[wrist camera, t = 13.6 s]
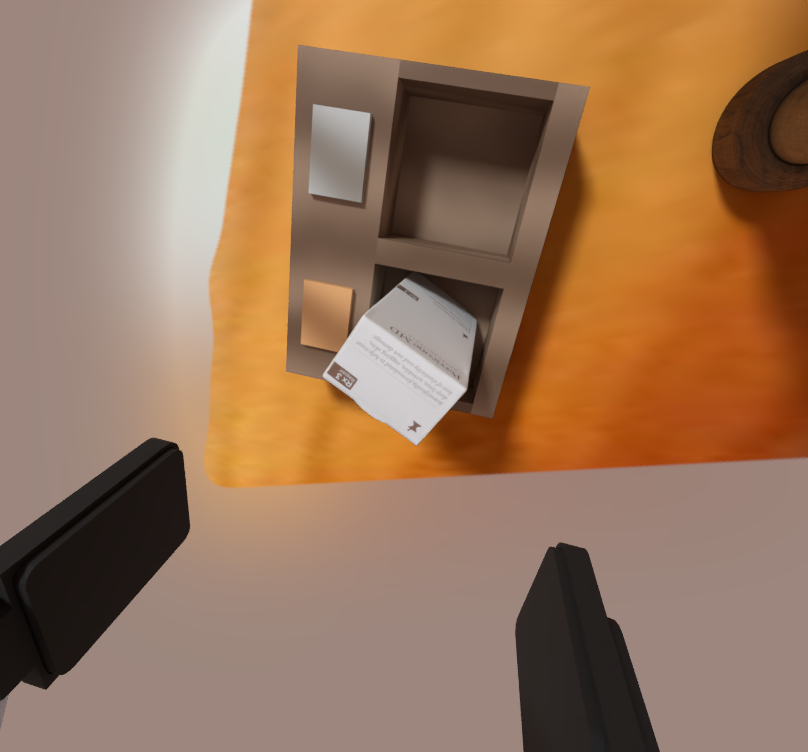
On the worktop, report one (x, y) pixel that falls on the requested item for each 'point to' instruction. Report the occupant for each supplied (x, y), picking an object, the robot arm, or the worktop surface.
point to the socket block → (421, 198)
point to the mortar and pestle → (766, 130)
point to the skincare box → (408, 357)
